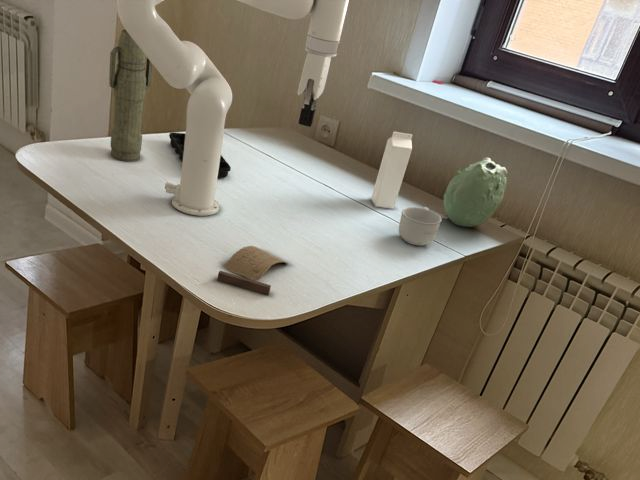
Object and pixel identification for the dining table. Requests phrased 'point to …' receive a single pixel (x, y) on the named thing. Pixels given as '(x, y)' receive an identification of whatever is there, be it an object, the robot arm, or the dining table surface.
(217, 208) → the robot arm
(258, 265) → the brown curved bark
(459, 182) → the green vase
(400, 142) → the milk
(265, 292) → the bar
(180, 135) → the egg carton
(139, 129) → the thermos
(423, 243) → the teacup
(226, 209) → the dining table surface
